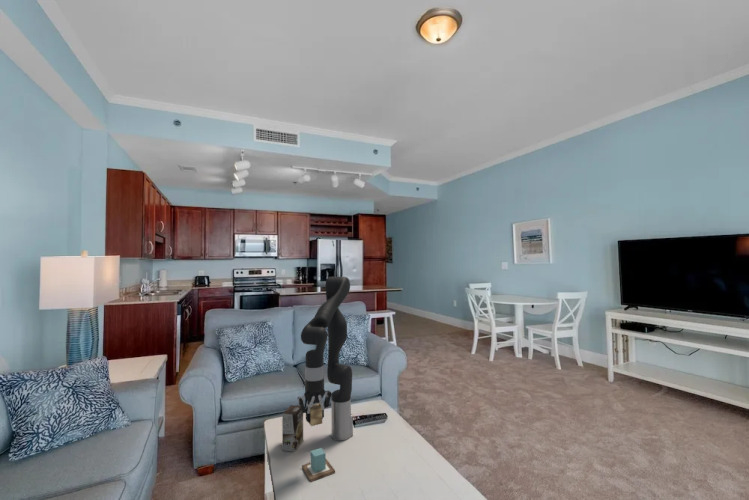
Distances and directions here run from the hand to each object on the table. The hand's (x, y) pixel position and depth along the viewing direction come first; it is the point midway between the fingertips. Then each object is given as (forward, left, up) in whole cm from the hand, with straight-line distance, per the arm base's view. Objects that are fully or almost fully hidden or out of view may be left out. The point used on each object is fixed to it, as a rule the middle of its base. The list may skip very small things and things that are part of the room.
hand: (315, 420), depth 133 cm
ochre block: (0, 0, -1) cm, 1 cm away
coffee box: (+2, -22, -20) cm, 30 cm away
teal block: (-1, +1, -18) cm, 18 cm away
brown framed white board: (-1, +1, -19) cm, 19 cm away
